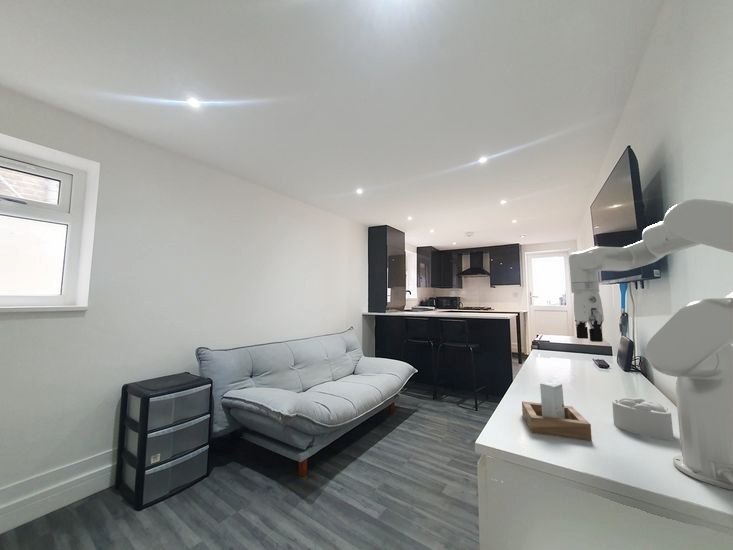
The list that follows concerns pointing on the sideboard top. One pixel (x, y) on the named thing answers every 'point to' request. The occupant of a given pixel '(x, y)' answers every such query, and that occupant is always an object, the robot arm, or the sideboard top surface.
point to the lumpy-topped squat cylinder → (643, 418)
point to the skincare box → (552, 400)
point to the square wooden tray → (556, 422)
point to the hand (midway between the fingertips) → (589, 340)
